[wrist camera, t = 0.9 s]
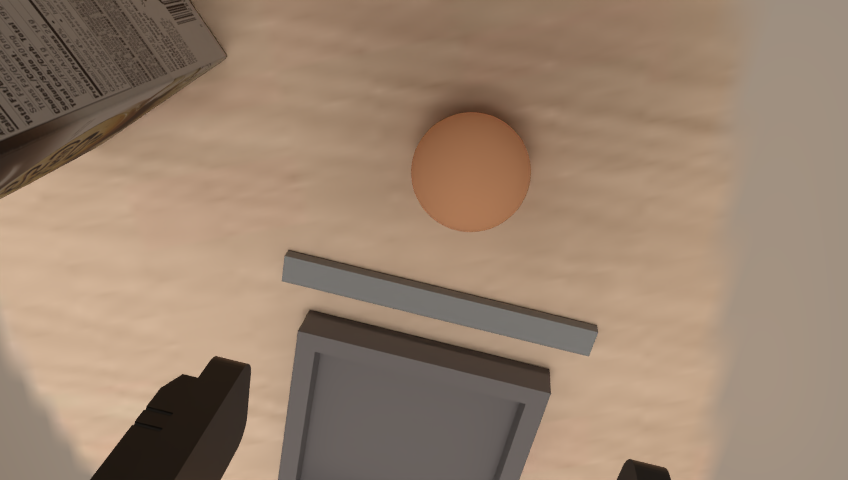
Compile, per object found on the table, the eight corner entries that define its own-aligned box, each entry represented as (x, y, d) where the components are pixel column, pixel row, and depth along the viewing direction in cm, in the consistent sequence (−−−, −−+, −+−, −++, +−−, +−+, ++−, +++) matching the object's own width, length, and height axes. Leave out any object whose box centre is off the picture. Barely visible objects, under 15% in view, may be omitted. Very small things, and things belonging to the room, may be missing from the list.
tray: (309, 310, 35) (298, 331, 33) (549, 369, 34) (550, 393, 33) (285, 482, 41) (274, 508, 39) (489, 535, 40) (488, 563, 38)
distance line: (288, 250, 33) (284, 255, 33) (596, 325, 33) (598, 332, 32) (285, 275, 34) (281, 281, 33) (587, 349, 33) (588, 356, 33)
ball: (431, 87, 29) (415, 118, 24) (543, 113, 29) (547, 149, 24) (410, 190, 31) (392, 235, 27) (514, 215, 31) (512, 264, 26)
